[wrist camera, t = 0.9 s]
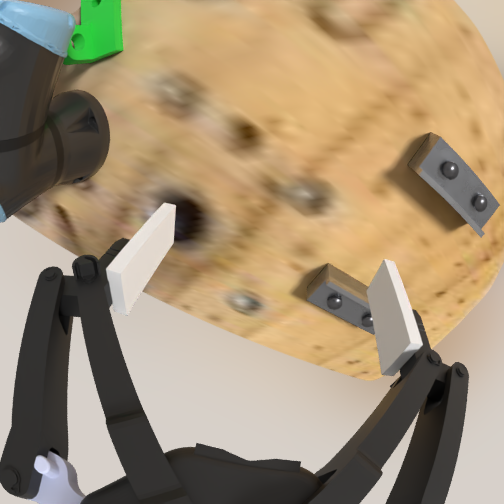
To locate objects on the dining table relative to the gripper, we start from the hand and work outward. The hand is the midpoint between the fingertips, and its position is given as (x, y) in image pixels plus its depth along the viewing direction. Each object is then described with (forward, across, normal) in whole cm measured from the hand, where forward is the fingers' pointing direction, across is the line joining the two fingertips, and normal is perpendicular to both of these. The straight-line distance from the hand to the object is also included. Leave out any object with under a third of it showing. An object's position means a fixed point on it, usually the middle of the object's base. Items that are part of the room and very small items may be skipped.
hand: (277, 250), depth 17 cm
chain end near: (+20, +22, +5) cm, 30 cm away
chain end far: (+20, +15, -18) cm, 30 cm away
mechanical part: (+22, -29, +16) cm, 40 cm away
